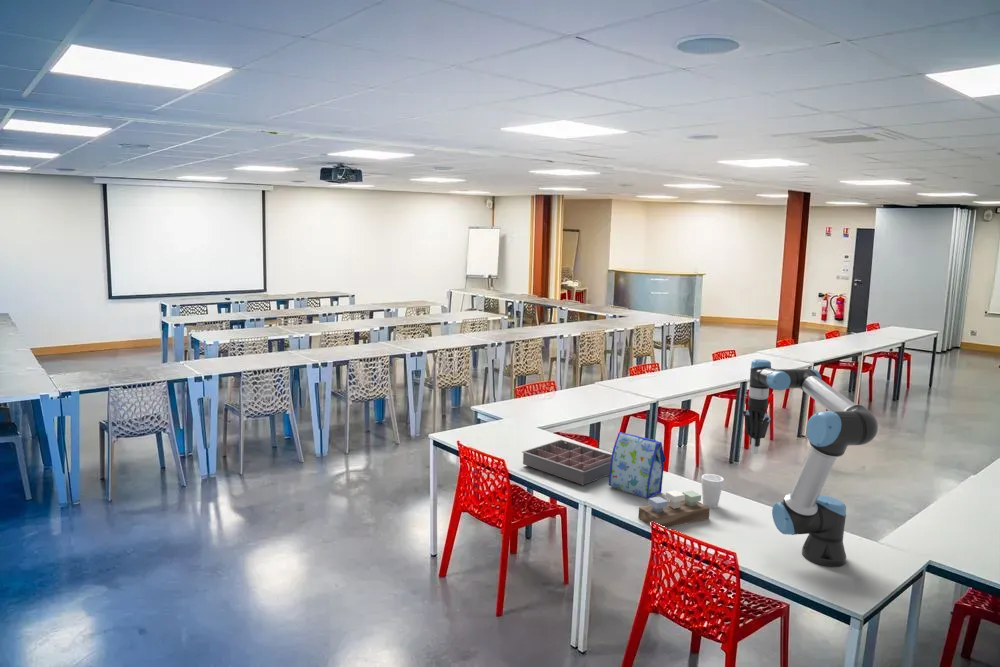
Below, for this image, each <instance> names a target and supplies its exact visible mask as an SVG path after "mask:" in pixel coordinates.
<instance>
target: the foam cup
mask: <svg viewBox="0 0 1000 667" xmlns="http://www.w3.org/2000/svg"><path fill="white" fill-rule="evenodd" d="M700 479H701V480H700V481H701V492H702V494H701V497H702V504H704V505H706V506H707V507H709V508H710V509H717V508H718V506H719V502H720V498H721V494H722V489H723V486H724V481H725V479H724V477H723V476H721V475H718V474H714V473H712V474H711V473H705V474H702V475H701V478H700Z"/></svg>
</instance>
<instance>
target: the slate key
mask: <svg viewBox="0 0 1000 667" xmlns="http://www.w3.org/2000/svg"><path fill="white" fill-rule="evenodd" d="M668 502H669V501H668V500H667V499H665V498H662V497H661V496H655V497H654V496H653V497H651V498H649V499H648V505H651V506H653V509H652V511H654V512H656V513H660V512H663V508H665V507H667V506H668Z"/></svg>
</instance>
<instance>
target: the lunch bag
mask: <svg viewBox="0 0 1000 667" xmlns="http://www.w3.org/2000/svg"><path fill="white" fill-rule="evenodd" d="M663 448H664V447H663V443H662V442H661V441H658V440H656V439H654V438H653V439H652V438H647V437H644V436H639V435H635V434H630V433H626V432H621V431H619V432H618V433H617V437H616V439H615V442H614V445H613V447H612V451H611V452H612V453H611V454H612V457H611V463H610V470H609V475H608V487H611V488H614V489H617V490H621V491H624V492H626V493H630V494H632V495H636V496H638V497H642V498H645V499H647V500H649V498H653V497H654V496H655V495H658V494H661V493H662V488H663V487H662V485H663V478H664V463H665V462H666V461H667V460H666V456H665V452H664V449H663Z"/></svg>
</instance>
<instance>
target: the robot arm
mask: <svg viewBox="0 0 1000 667" xmlns="http://www.w3.org/2000/svg"><path fill="white" fill-rule="evenodd" d="M749 370H750V376H749V389H748V390H749V391H748V396H749V397H748V401H747V402H748V403H747V405H748V408H747V410H743V411H742V414H743V417H744V424H745V434H746V435H748V436H749V439H750V440H749V445H750V454H752V455H757V454H759V447H761V446H760V445H761V439H765V438H766V434H767V431H768V428H769V424H770V422H771V421H772V418H773V417H772V416H769V415H768V412H767V408H768V406H769V399H768V398H769V394H770V392H769V391H770V389H773V390H774V391H780V392H781V391H785V390H787V389H800V390H802V391H803V392H804V393H805V394H807V395H808V396H809V397H811V398H812V399H813V400H815V401H816V402H817V403H819V404H820V405H821V406H822V407H823V408H824V409H825V411H818V412H816V413H814V414H813V415H811V416H810V418H809V419H808V421H807V424H806V428H805V429H806V430H807V431H805V432H806V437H807V439H808V442H809V446H810V448H809V451H808V454H807V456H806V458H805V461H804V463H803V465H802V468H801V469H800V471H799V474H798V476H797V479H796V481H795V483H794V486H793V489H792V491H790V492H787V493H786V494H785V496H784V498H783V500H782V502H780V501H778V502H775V503H774V504H772V508H771V515H772V516H771V517H772V520H773V524H774V526H775V527H776V529H777V530H778V531H779V532H780V533H781V534H783V535H789V536H790V535H791V536H793V535H794V536H795V535H796V536H797V535H806V534H807V537H806V539H805V541H804V543H803V545H802V547H801V555H802V557H804V558H805V559H806V560H807V561H810V562H811V563H814V564H817V565H820V566H824V567H833V568H834V567H835V568H836V567H842V566H845V565H846V563H847V553H846V550H845V546H844V545H845V544H844V535H845V534H844V532H845V527H846V526H845V524H846V518H847V506H846V504H845V503H844V502H843V501H841V500H839V499H837V498H835V497H832V496H828V495H823V494H821V493H822V490H823V488H824V486H825V484H826V481H827V479H828V477H829V475H830V472H831V471H832V469H833V466H834V464H835V462H836V459H837V458H840V457H843V455H845V452H846V450H847V449H848V447H849V446H863V445H866V444H869V443H871V442H872V441H873V440H874V439H875V438H876V436H877V433H878V431H879V424H878V420H877V418H876V416H875V415H874V414H873V413H872V412H871V411H870V410H869V409H868V408H866V407H865V406H863V405H862V404H855V402H853V401H852V400H850V399H849V398H848V397H846V396H844V395H843V394H842V393H841V392H839V391H837V390H836V389H835V388H834V387H832V386H831V385H829V384H828V383H827V382H825V381H824V380H822V375H821V374H820V372H819V371H818V370H817V369H814V368H813V369H811V368H796V369H790V368H789V369H785V368H784V369H783V368H781V369H778V368H776V369H775V368H772V363H771V361H770V360H767V359H756V358H755V359H753V360H752V361H751V364H750V369H749Z"/></svg>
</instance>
